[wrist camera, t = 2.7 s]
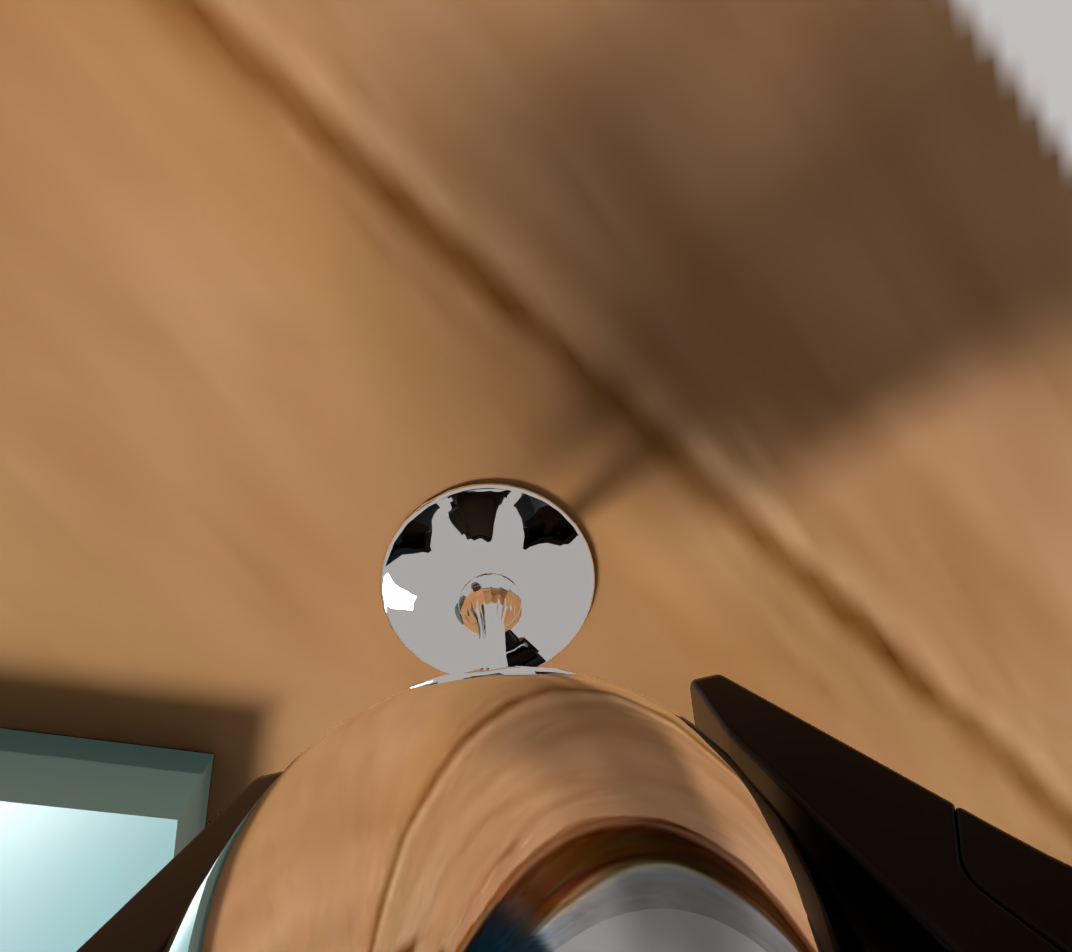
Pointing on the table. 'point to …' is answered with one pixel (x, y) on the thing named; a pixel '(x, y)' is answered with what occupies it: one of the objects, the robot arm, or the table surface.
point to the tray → (87, 831)
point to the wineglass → (509, 787)
